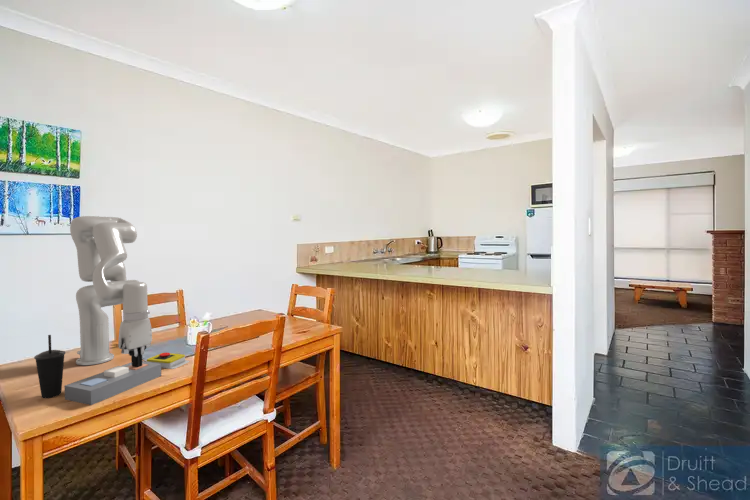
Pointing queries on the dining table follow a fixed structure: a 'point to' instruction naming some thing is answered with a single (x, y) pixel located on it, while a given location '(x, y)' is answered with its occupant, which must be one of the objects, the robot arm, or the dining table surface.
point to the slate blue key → (93, 382)
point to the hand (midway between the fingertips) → (137, 365)
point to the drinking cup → (50, 371)
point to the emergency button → (169, 360)
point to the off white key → (116, 371)
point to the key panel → (111, 384)
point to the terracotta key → (137, 367)
